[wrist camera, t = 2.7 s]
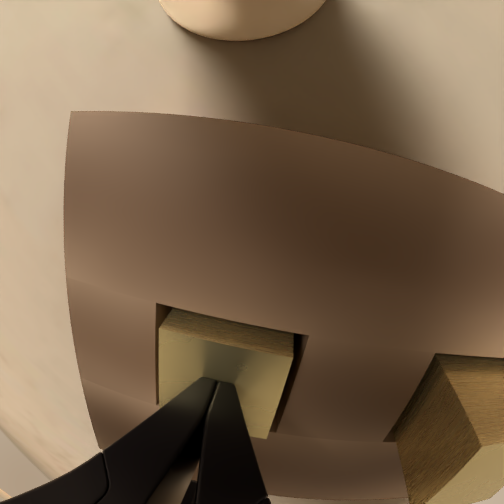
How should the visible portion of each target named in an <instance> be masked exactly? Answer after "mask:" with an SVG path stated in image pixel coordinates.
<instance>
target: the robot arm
mask: <svg viewBox="0 0 504 504" xmlns="http://www.w3.org/2000/svg"><path fill="white" fill-rule="evenodd" d="M198 463H199V468H198V476H197V481H195V480H191V479H192V477H193V475H194V472H195V470H196V468H197V465H198ZM267 497H268V494H267V491H266V488H265V484H264V481H263V478H262V475H261V472H260V469H259V465H258V462H257V459H256V456H255V452H254V449H253V446H252V442H251V439H250V436H249V432H248V429H247V425H246V422H245V418H244V415H243V411H242V408H241V404H240V401H239V397H238V393H237V390H236V387H235V385H234V384H232V383H227V382H223V381H219V382H218V383H217V381H216V380H214V379H210V378H206V377H200V378H199V379H197V380H196V381H195V382H194V383H192V384H191V385H190V386H188V387H187V388H186V389H185V390H183V391H182V392H181V393H180V394H178V395H177V396H176V397H174V398H173V399H172V400H171V401H169V402H168V403H167V404H165V405H164V406H163V407H161V408H160V409H159V410H157V411H156V412H155V413H154V414H152V415H151V416H150V417H148V418H147V419H145V420H144V421H143V422H141V423H140V424H139V425H137V426H136V427H135V428H133V429H132V430H131V431H129V432H128V433H126V434H125V435H124V436H122V437H121V438H120V439H118V440H117V441H115V442H114V443H113V444H111V445H110V446H108V447H107V448H105V449H104V450H103V453H102V452H99V453H98V454H96V455H95V456H94V457H92V458H91V459H89V460H88V461H86V462H85V463H83V464H81V465H80V466H78V467H77V468H75V469H73V470H72V471H70V472H68V473H66V474H64V475H62V476H60V477H58V478H56V479H54V480H52V481H50V482H48V483H46V484H44V485H41V486H39V487H37V488H34V489H32V490H30V491H27V492H25V493H23V494H20V495H18V496H15V497H13V498H10V499H8V500H5V501H2V502H0V504H271V502H270V499H269V498H267Z"/></svg>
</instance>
